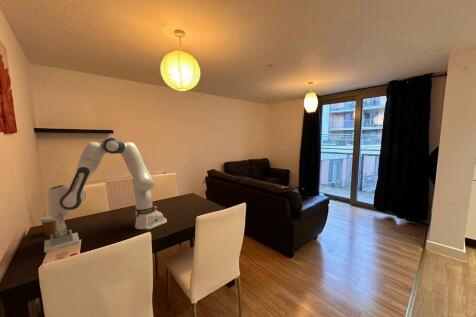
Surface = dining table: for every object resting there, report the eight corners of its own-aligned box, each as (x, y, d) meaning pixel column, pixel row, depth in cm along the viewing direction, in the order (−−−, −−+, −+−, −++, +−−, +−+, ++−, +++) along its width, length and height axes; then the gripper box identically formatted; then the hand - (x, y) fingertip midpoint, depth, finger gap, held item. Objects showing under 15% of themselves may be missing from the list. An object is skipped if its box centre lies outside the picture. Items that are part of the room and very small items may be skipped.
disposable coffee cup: (55, 229, 144) (54, 213, 143) (63, 231, 141) (62, 215, 139) (38, 235, 135) (37, 218, 134) (47, 238, 132) (45, 220, 131)
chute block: (67, 237, 129) (65, 224, 128) (67, 240, 125) (66, 226, 124) (56, 240, 125) (55, 226, 124) (56, 243, 122) (55, 229, 121)
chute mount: (77, 234, 136) (76, 226, 136) (79, 242, 125) (78, 234, 125) (45, 243, 125) (44, 234, 125) (44, 252, 114) (43, 243, 114)
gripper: (66, 214, 118) (68, 237, 119) (65, 206, 133) (67, 226, 134) (52, 217, 114) (54, 240, 115) (52, 208, 129) (54, 229, 130)
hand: (61, 232), depth 125 cm, fingers open, 8 cm apart
